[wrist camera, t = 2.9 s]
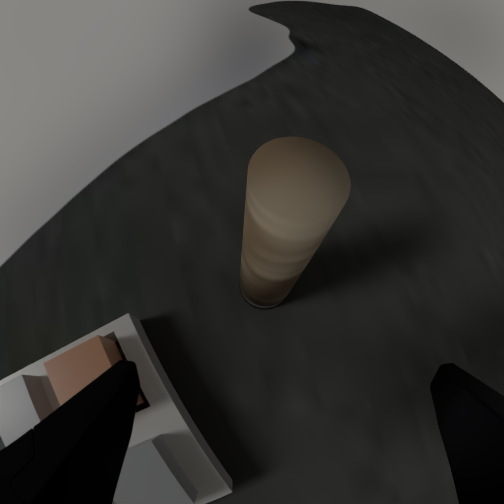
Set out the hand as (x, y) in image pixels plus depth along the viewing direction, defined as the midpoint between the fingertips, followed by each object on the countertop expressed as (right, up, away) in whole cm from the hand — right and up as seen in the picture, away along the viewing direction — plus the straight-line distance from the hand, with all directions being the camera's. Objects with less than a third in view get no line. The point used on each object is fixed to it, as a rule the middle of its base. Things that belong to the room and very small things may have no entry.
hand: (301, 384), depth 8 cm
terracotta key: (-11, -5, +9) cm, 15 cm away
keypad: (-15, -11, +8) cm, 20 cm away
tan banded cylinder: (0, +1, +14) cm, 14 cm away
